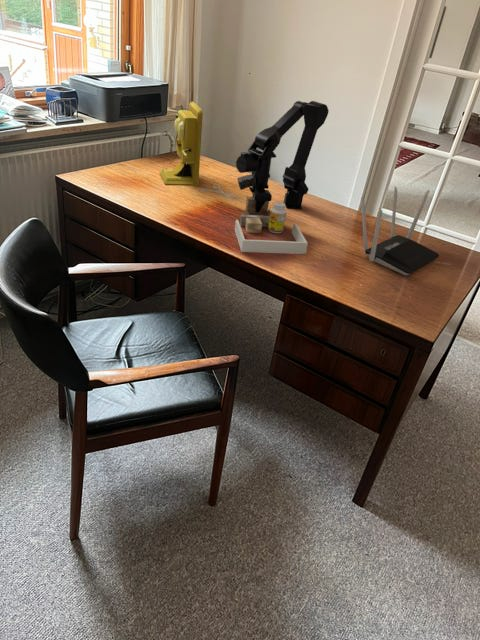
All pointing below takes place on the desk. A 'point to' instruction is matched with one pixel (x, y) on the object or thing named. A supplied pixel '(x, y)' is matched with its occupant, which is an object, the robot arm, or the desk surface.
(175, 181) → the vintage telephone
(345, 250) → the desk surface
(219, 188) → the scissors
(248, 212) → the wooden block frame
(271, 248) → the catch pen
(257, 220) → the pale wooden block
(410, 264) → the wireless router
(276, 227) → the supplement bottle
